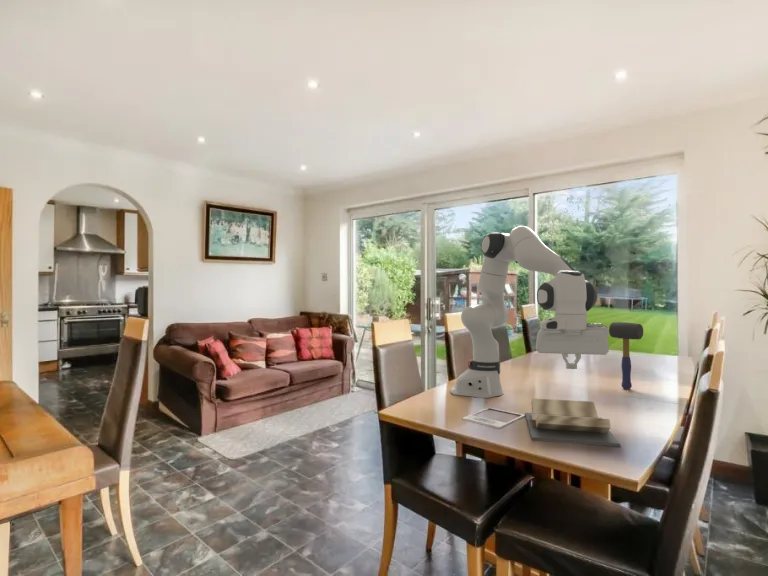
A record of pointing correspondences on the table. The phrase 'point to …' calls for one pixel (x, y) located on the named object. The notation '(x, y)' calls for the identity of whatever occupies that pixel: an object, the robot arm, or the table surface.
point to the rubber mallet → (626, 346)
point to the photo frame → (488, 421)
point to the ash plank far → (564, 407)
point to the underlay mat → (571, 435)
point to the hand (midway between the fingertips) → (571, 368)
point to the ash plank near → (573, 423)
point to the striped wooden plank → (534, 416)
